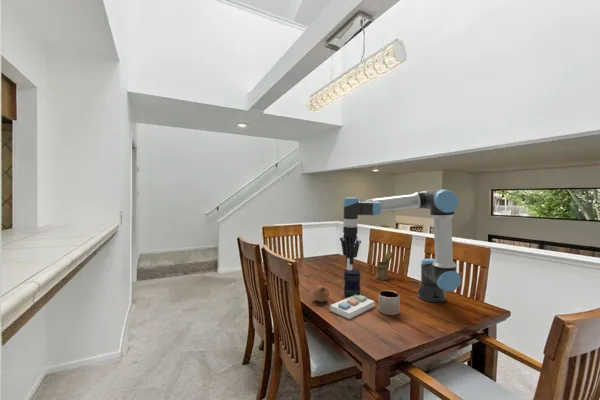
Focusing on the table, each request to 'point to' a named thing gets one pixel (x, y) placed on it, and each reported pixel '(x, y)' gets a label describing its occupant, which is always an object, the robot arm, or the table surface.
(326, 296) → the onion
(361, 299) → the button two dots
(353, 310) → the button panel
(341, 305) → the button one dot
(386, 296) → the planter
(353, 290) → the navy blue cylinder
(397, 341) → the table surface
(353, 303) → the button three dots
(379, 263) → the wooden mug
